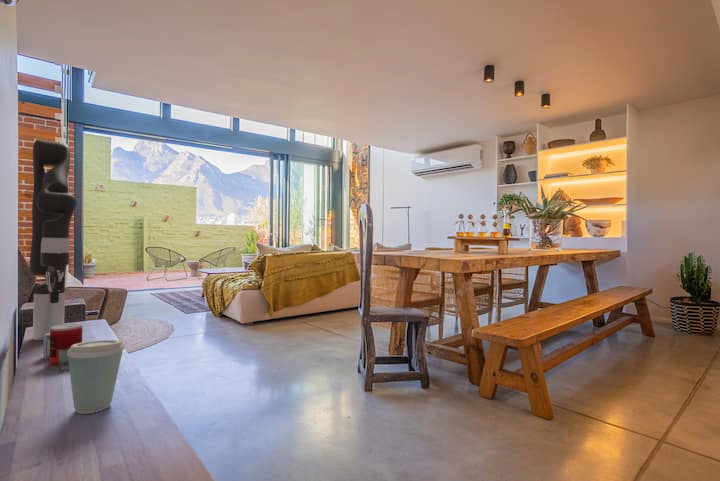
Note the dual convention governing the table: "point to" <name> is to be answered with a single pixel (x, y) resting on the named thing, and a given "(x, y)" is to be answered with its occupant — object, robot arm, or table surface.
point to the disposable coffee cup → (94, 373)
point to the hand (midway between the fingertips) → (54, 302)
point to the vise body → (63, 360)
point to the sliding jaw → (46, 346)
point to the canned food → (63, 339)
